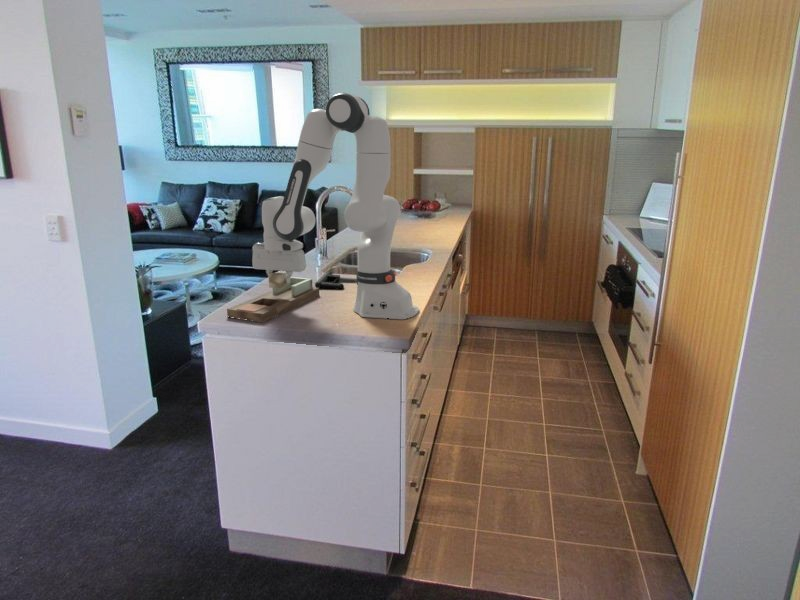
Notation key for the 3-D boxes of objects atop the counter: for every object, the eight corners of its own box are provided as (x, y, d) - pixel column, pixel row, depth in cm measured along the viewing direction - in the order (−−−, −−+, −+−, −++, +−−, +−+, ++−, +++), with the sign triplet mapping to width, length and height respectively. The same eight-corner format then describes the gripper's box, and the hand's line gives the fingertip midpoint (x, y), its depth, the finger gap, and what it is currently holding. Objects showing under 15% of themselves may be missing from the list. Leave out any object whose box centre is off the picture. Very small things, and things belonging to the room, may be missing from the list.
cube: (287, 285, 205) (286, 273, 204) (280, 288, 201) (279, 275, 200) (276, 284, 207) (275, 272, 206) (269, 287, 203) (268, 274, 202)
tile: (267, 306, 194) (266, 305, 194) (254, 312, 188) (254, 311, 188) (249, 304, 196) (249, 303, 196) (236, 309, 190) (236, 308, 190)
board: (319, 295, 219) (319, 287, 218) (263, 322, 187) (262, 313, 186) (287, 291, 224) (287, 284, 223) (227, 317, 192) (226, 309, 191)
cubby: (312, 288, 218) (312, 278, 217) (295, 295, 207) (294, 286, 206) (290, 285, 221) (290, 276, 220) (272, 293, 211) (272, 283, 210)
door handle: (360, 273, 245) (323, 270, 247) (351, 285, 226) (311, 281, 228) (360, 281, 246) (323, 277, 248) (351, 293, 227) (311, 289, 229)
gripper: (246, 243, 202) (250, 282, 206) (297, 246, 195) (300, 286, 198) (257, 241, 208) (260, 278, 211) (306, 243, 200) (309, 282, 204)
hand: (280, 282), depth 205 cm, fingers closed on cube, 4 cm apart
